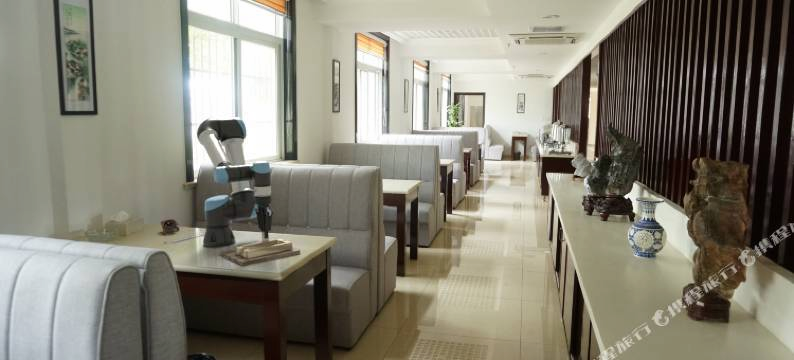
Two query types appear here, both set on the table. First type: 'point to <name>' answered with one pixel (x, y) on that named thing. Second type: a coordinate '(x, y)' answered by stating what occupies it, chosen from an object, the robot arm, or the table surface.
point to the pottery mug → (169, 225)
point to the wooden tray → (263, 248)
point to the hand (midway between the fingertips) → (265, 244)
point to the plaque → (187, 239)
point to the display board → (245, 261)
